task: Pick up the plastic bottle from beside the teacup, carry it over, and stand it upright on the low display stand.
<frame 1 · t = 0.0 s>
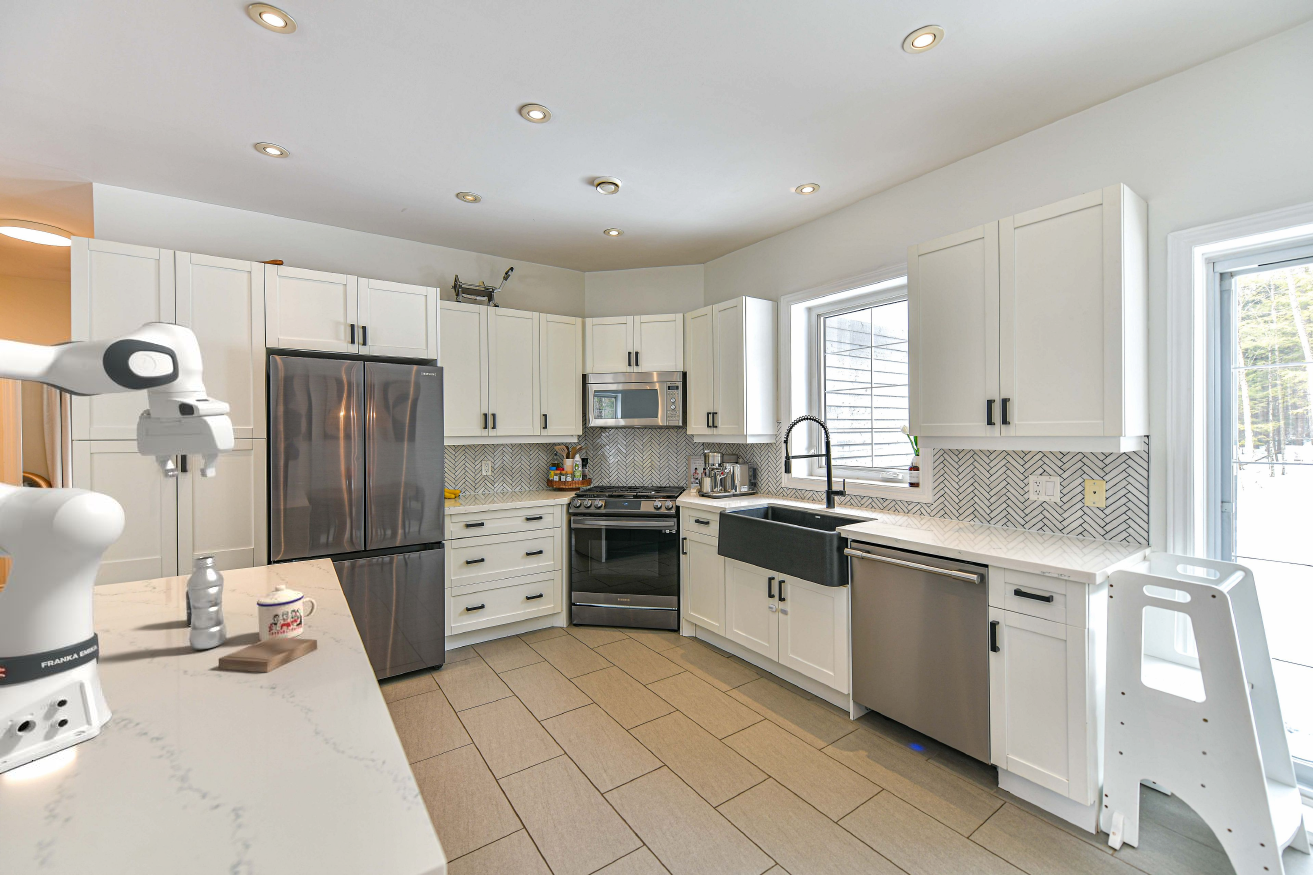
hand: (189, 477, 111), 39 cm above the table, tool pointing down, fingers open, 8 cm apart
plastic bottle: (208, 648, 125), on the table
supplement bottle: (204, 623, 143), on the table
teacup with lid: (289, 634, 132), on the table
display stand: (269, 658, 118), on the table
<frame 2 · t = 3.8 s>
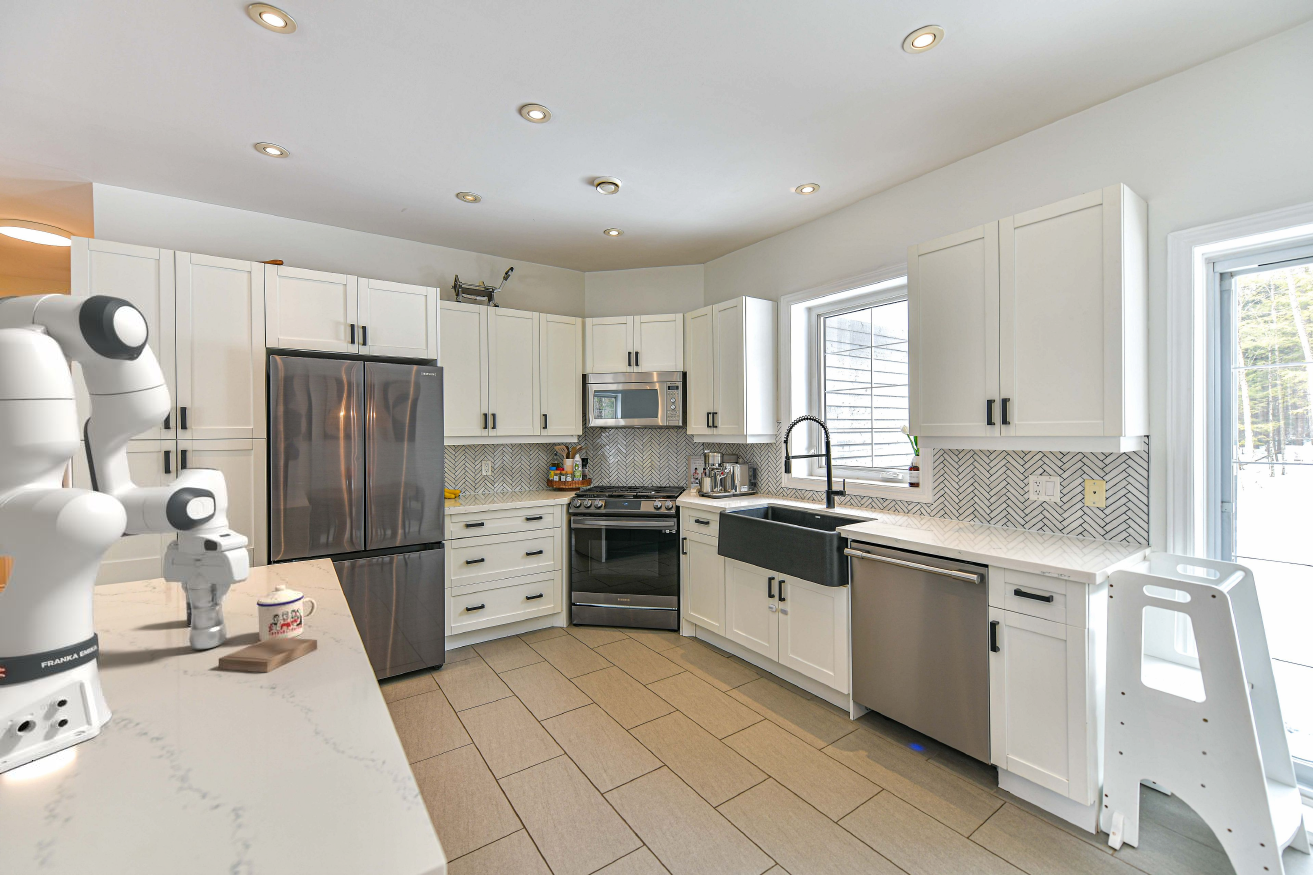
hand: (206, 602, 125), 10 cm above the table, tool pointing down, fingers closed on plastic bottle, 6 cm apart
plastic bottle: (208, 648, 125), on the table, touching gripper
everything else where it was.
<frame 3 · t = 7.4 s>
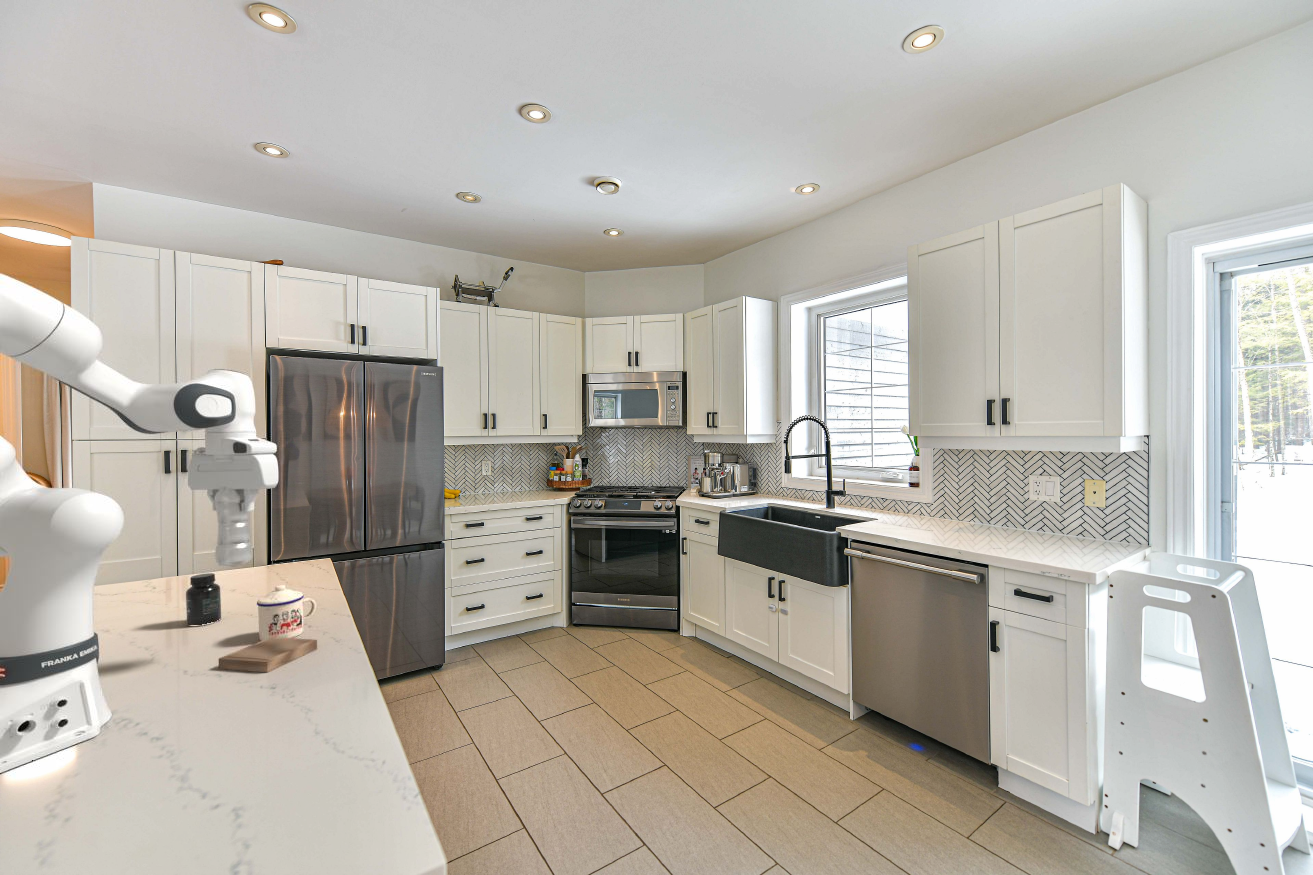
hand: (233, 510, 121), 31 cm above the table, tool pointing down, fingers closed on plastic bottle, 6 cm apart
plastic bottle: (234, 566, 120), point 19 cm above the table, touching gripper
everything else where it was.
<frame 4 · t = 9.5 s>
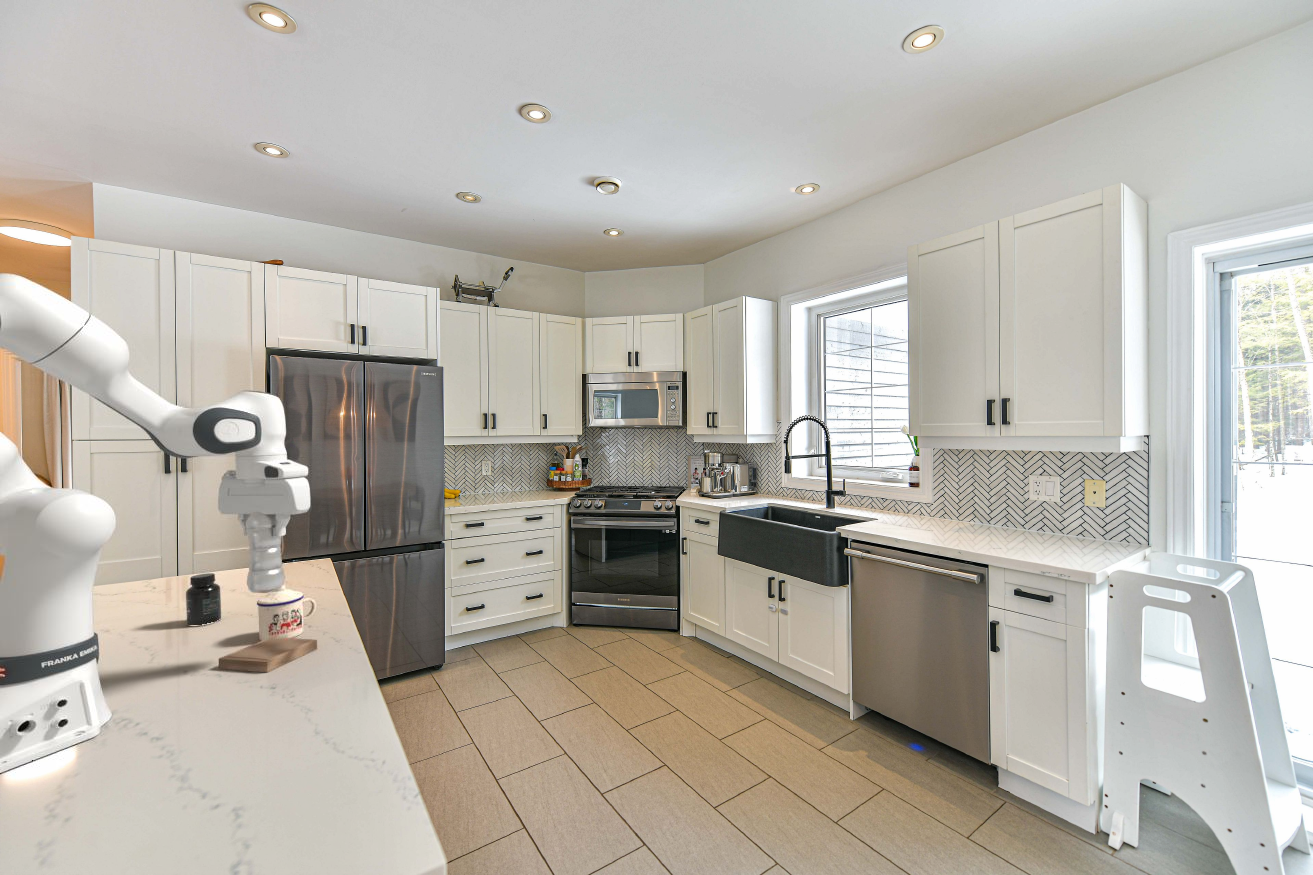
hand: (264, 535, 117), 26 cm above the table, tool pointing down, fingers closed on plastic bottle, 6 cm apart
plastic bottle: (266, 593, 117), point 14 cm above the table, touching gripper
everything else where it was.
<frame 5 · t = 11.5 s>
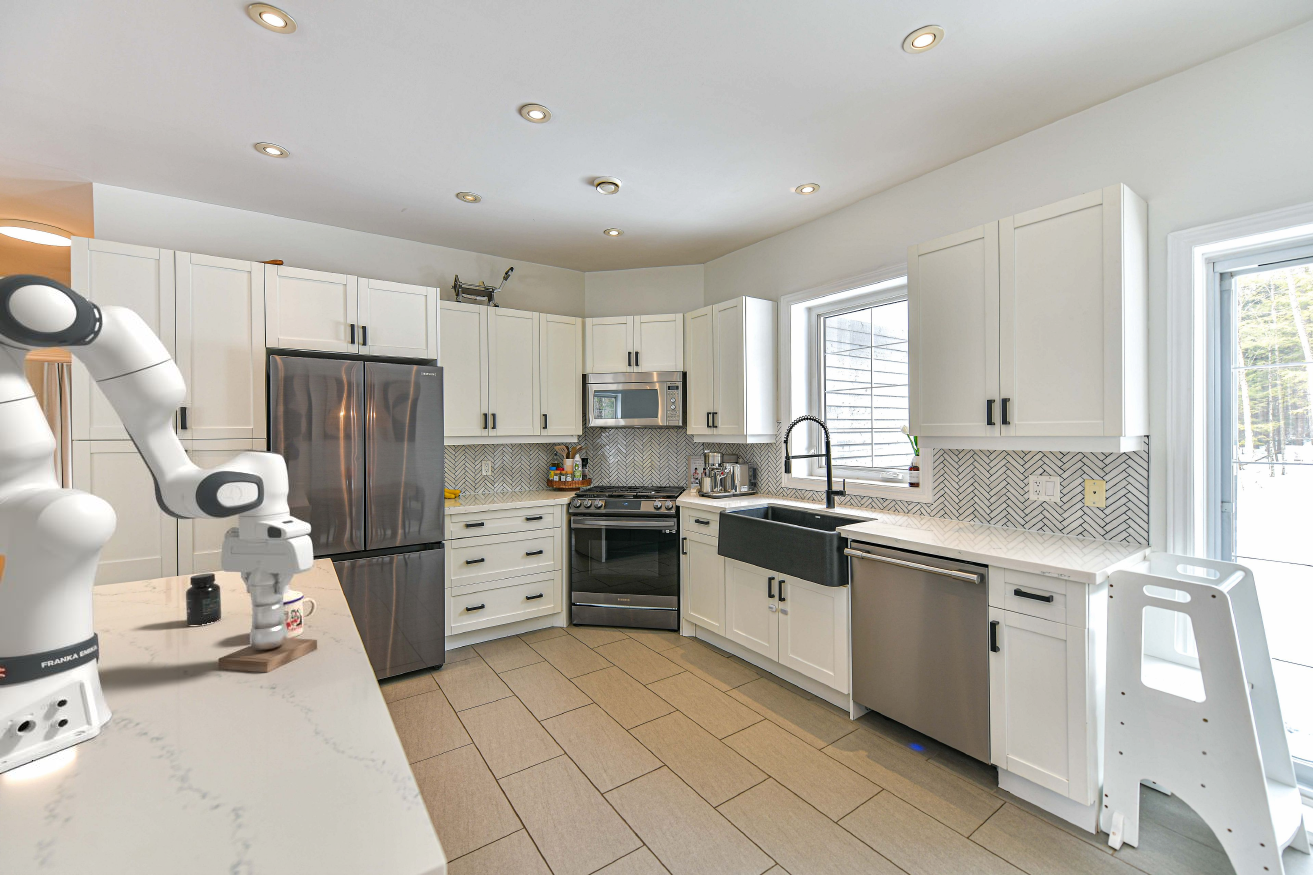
hand: (267, 593, 117), 14 cm above the table, tool pointing down, fingers closed on plastic bottle, 6 cm apart
plastic bottle: (269, 649, 117), point 2 cm above the table, touching display stand, gripper
everything else where it was.
when the fingers open (13 cm above the table, at t = 12.6 s): plastic bottle stays where it is, resting on display stand.
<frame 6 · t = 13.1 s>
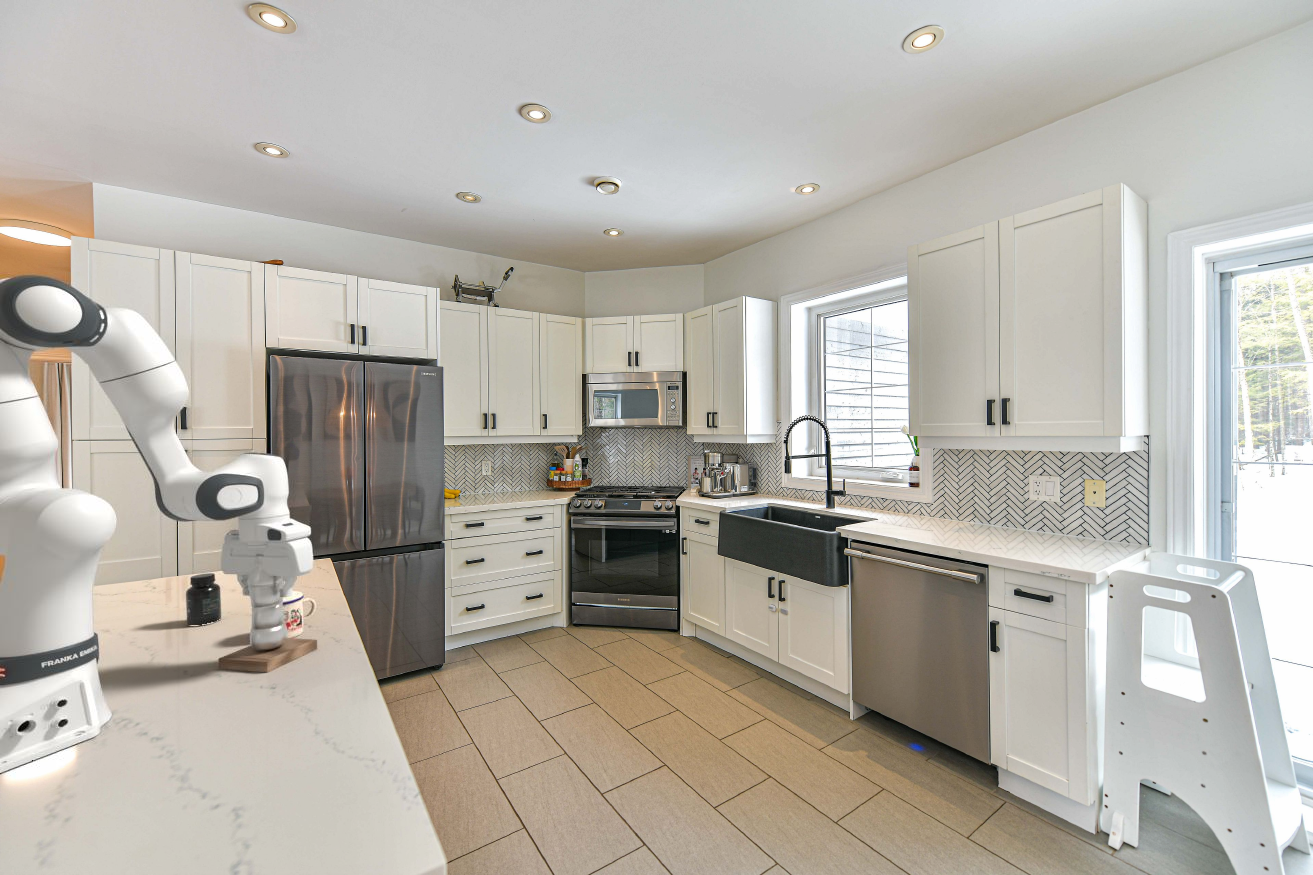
hand: (267, 595, 117), 13 cm above the table, tool pointing down, fingers open, 8 cm apart
plastic bottle: (269, 649, 117), point 2 cm above the table, touching display stand
everything else where it was.
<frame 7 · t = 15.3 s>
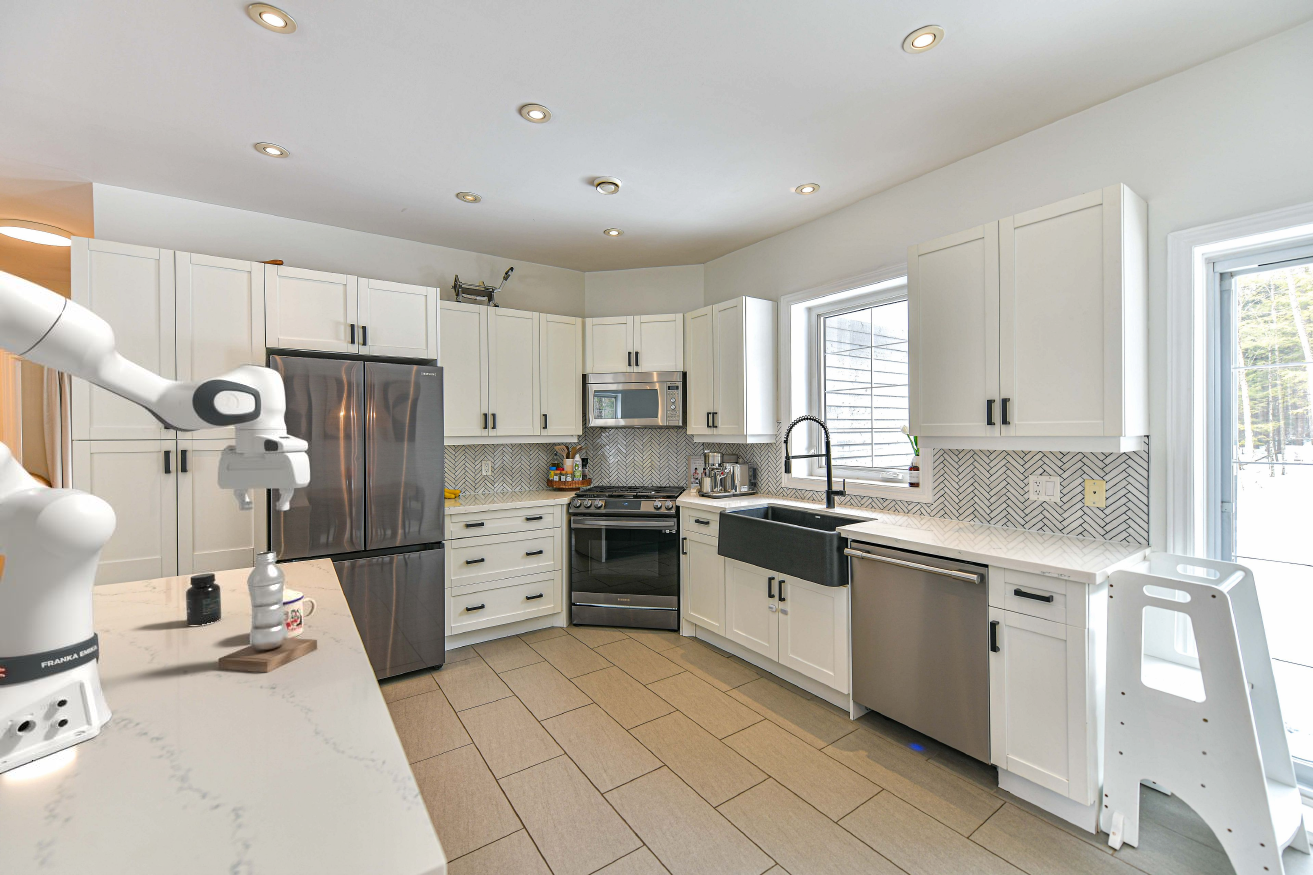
hand: (264, 510, 117), 31 cm above the table, tool pointing down, fingers open, 8 cm apart
nothing on the table moved.
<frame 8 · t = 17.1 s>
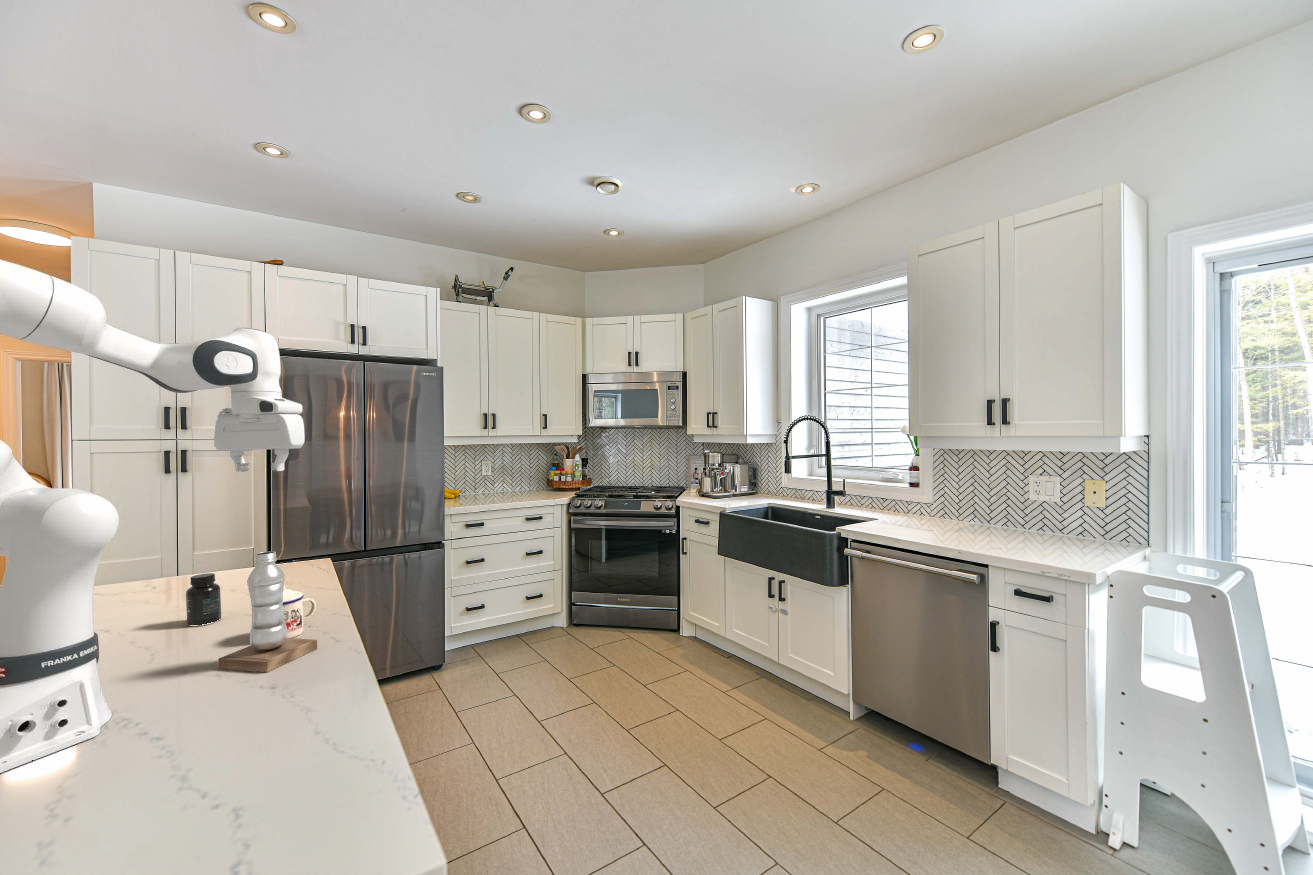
hand: (260, 471, 120), 39 cm above the table, tool pointing down, fingers open, 8 cm apart
nothing on the table moved.
at the end: plastic bottle inside the target area on the display stand (0.1 cm from its centre), point 1.9 cm above the display stand's base; plastic bottle tilted 0°; the gripper is holding nothing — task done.
